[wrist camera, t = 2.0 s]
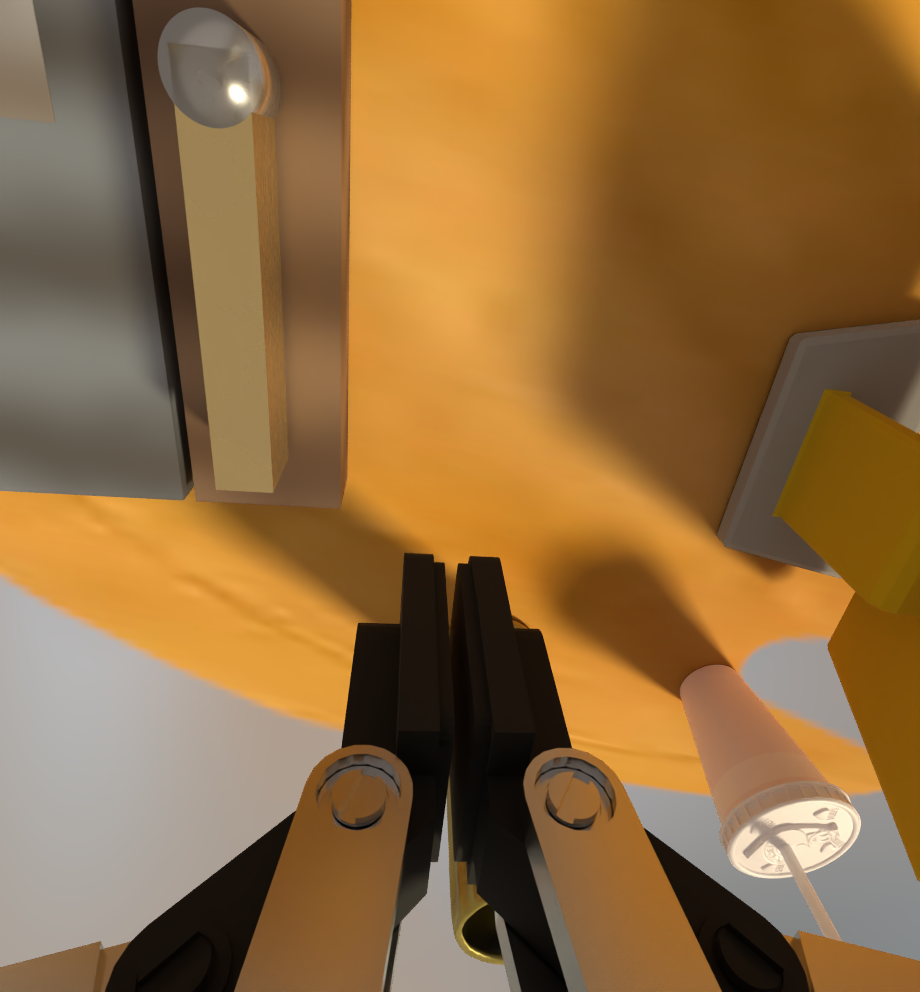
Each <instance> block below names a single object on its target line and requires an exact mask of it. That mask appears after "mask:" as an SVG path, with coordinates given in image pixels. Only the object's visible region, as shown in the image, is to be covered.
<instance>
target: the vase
mask: <svg viewBox="0 0 920 992" xmlns="http://www.w3.org/2000/svg"><path fill="white" fill-rule="evenodd" d="M513 625H514V628H523V629H528V628H527V627H525V626H524V625H522V624H520V623H519V622H516V621H514V620H513ZM449 637H450V631H449ZM447 818H448V819H447V820H448V842H449V874H450V897H451V913H452V914H451V915H452V924H453V930H454V935H455V938H456V941H457V942H458V944H459V946H460V947H461V948H462V950H463V951H464V952H465V953H466V954H468V955H469V956H471V957H473V958H475V959H478V960H481V961H483V962H487V963H492V964H502V965H504V960H503V956H502V952H501V947H500V943H499V938H498V934H497V930H496V923H495V910H494V909H493V908H491V907H490V906H489V905H488V904H487V903H486V902H485V901H484V900H483V899H482V898H481V897H480V896H479V895H478V894H477V890H476V885H468V883H467V868H466V862H455V861H454V854H453V836H452V816H451V796H450V776H449V782H448V790H447Z"/></svg>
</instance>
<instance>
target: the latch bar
mask: <svg viewBox="0 0 920 992" xmlns="http://www.w3.org/2000/svg"><path fill="white" fill-rule="evenodd" d="M157 57H158V67H159V73H160V76H161V80H162V82H163V85H164V88H165V89H166V91H167V93H168V95H169V97H170V98H171V100H172V101H173V103H174V107H175V116H176V126H177V135H178V144H179V153H180V163H181V172H182V181H183V190H184V199H185V209H186V218H187V227H188V236H189V246H190V255H191V264H192V273H193V283H194V292H195V301H196V310H197V320H198V329H199V338H200V347H201V357H202V366H203V375H204V384H205V393H206V403H207V412H208V421H209V430H210V440H211V449H212V458H213V467H214V477H215V486H216V490H228V491H246V492H264V493H274V490H275V488H276V486H277V483H278V481H279V479H280V477H281V474H282V472H283V470H284V467H285V465H286V463H287V460H288V458H289V449H288V425H287V401H286V377H285V354H284V330H283V306H282V283H281V259H280V235H279V211H278V188H277V164H276V140H275V118H276V116H277V114H278V112H279V110H280V107H281V104H282V100H283V80H282V76H281V72H280V69H279V66H278V64H277V62H276V60H275V58H274V56H273V55H272V53H271V52H270V51H269V49H268V48H267V47H266V46H265V45H264V44H263V43H262V42H261V41H260V40H258V39H257V38H256V37H254V36H253V35H252V34H250V33H249V32H248V31H246V30H245V29H244V28H242V27H241V26H240V25H238V24H237V23H236V22H234V21H233V20H232V19H230V18H229V17H227V16H226V15H224V14H222V13H220V12H218V11H215V10H213V9H208V8H200V7H197V8H190V9H186V10H184V11H182V12H180V13H178V14H177V15H175V16H174V17H173V18H172V19H171V20H170V21H169V22H168V23H167V25H166V26H165V28H164V30H163V32H162V34H161V37H160V40H159V45H158V56H157Z"/></svg>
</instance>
